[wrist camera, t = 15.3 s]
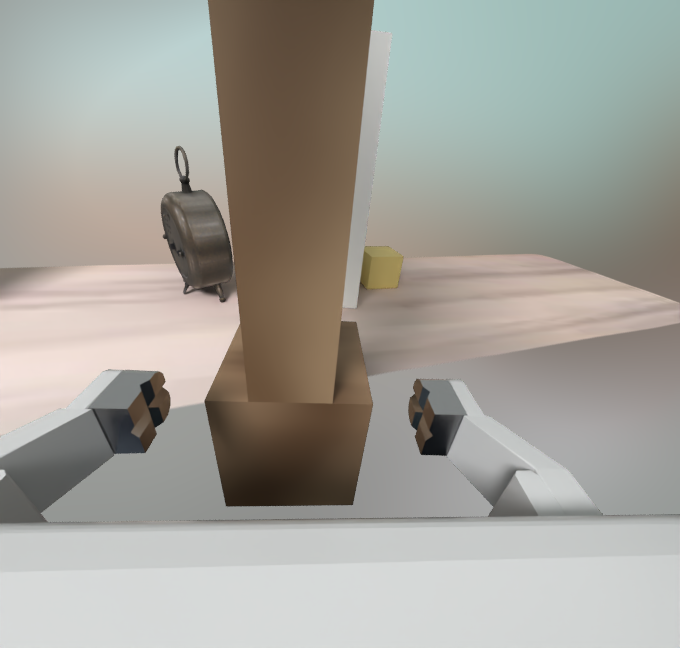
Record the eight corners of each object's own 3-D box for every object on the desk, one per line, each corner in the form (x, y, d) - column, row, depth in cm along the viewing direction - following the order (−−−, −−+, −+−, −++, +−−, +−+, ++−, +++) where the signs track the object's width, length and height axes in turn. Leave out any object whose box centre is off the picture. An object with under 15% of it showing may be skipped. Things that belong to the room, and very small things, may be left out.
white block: (261, 303, 37) (245, 12, 23) (275, 269, 47) (269, 54, 34) (356, 308, 38) (392, 33, 24) (349, 274, 48) (372, 67, 35)
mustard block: (367, 289, 43) (371, 257, 41) (355, 277, 47) (359, 246, 45) (397, 288, 45) (403, 256, 42) (383, 276, 49) (388, 246, 46)
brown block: (78, -212, 5) (212, -13, 11) (226, 506, 16) (251, 408, 22) (481, -132, 5) (397, 15, 11) (352, 505, 17) (344, 410, 23)
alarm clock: (239, 303, 36) (224, 151, 28) (193, 313, 33) (161, 146, 25) (209, 273, 43) (190, 145, 35) (168, 280, 40) (137, 141, 32)
